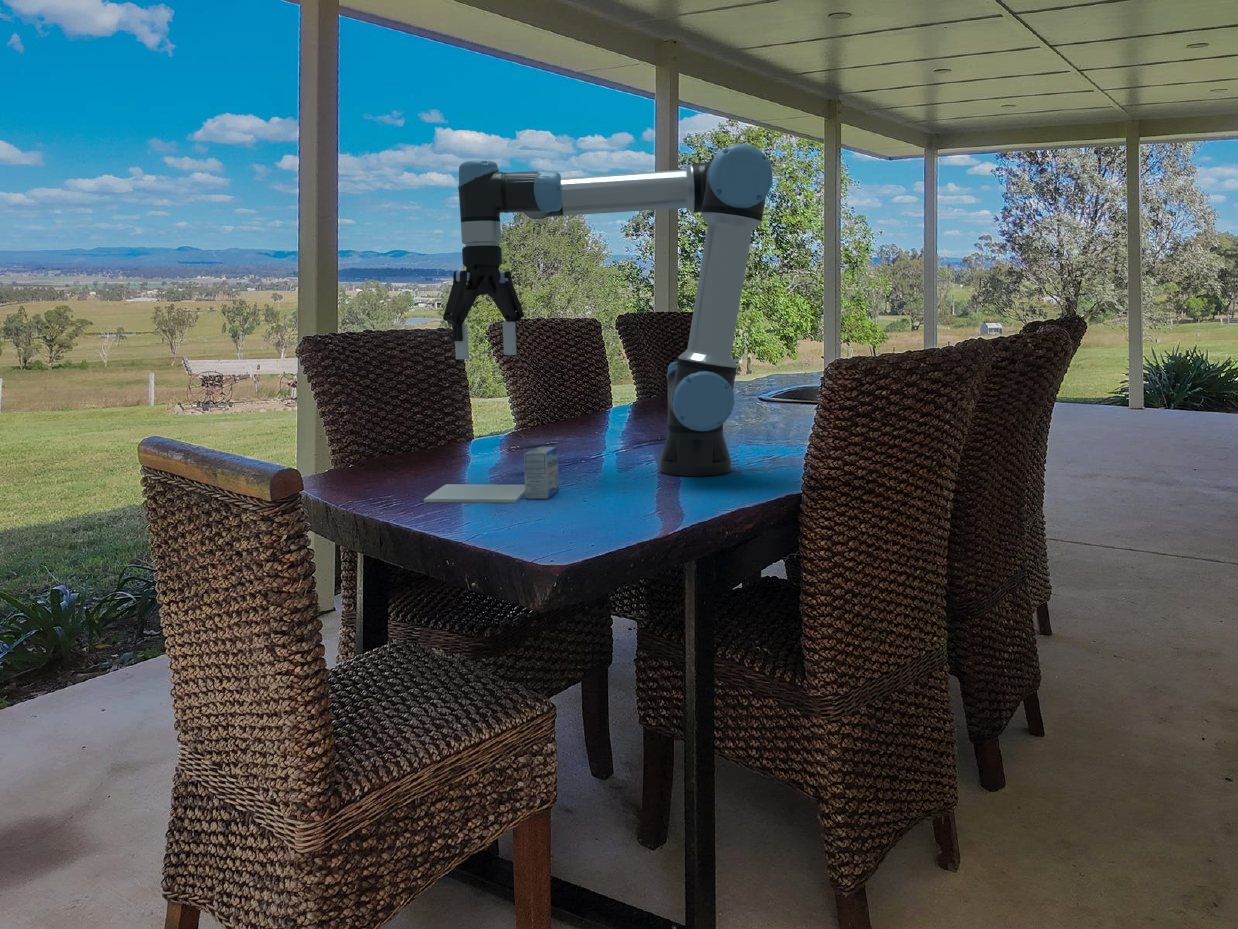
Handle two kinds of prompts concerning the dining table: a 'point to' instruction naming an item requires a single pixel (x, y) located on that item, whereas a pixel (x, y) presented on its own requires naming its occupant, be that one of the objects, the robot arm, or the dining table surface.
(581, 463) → the dining table surface
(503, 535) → the dining table surface
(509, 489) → the mat
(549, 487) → the medicine box
